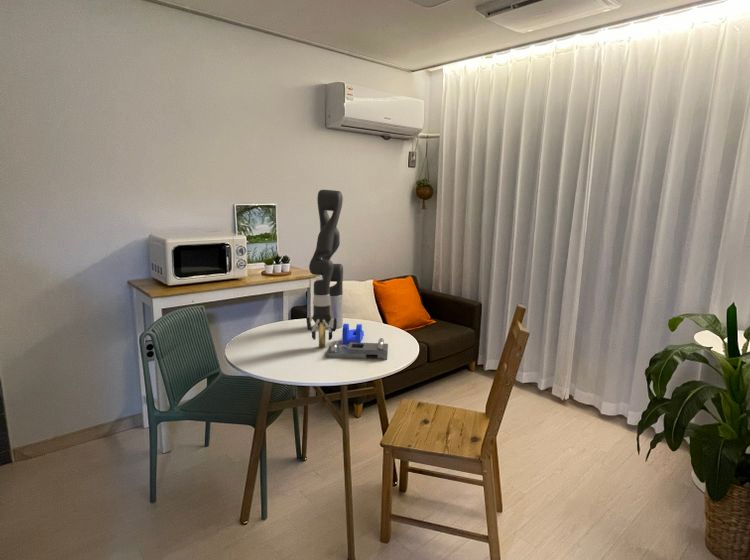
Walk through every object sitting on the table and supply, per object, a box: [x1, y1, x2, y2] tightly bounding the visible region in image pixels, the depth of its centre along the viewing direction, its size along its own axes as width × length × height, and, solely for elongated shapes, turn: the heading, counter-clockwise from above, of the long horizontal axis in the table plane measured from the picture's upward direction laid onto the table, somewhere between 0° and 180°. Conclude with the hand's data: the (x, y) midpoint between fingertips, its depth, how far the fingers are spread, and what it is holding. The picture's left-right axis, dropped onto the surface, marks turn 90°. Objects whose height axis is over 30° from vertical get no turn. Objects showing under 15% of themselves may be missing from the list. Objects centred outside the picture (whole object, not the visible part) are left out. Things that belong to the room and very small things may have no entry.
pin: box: [318, 322, 326, 349], centre depth 199 cm, size 3×3×12 cm
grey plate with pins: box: [325, 338, 389, 360], centre depth 191 cm, size 9×26×6 cm, turn 86°
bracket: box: [341, 323, 365, 345], centre depth 212 cm, size 18×8×9 cm, turn 175°
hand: (322, 339), depth 199 cm, fingers open, 6 cm apart
